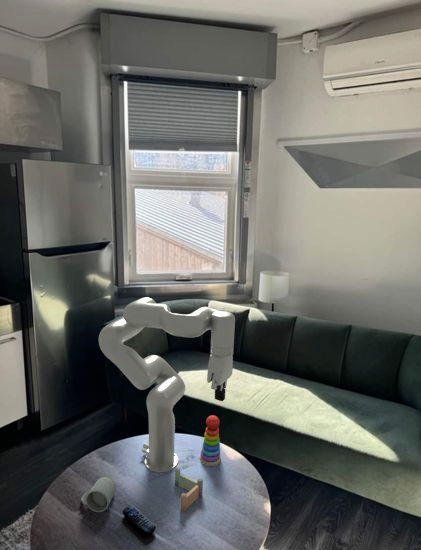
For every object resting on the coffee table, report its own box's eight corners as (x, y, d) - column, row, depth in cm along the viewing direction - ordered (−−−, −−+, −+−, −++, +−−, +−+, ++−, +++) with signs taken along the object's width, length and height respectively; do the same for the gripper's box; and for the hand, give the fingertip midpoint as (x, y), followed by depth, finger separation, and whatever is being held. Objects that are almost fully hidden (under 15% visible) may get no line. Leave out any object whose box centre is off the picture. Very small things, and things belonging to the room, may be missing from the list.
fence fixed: (173, 484, 140) (174, 470, 139) (176, 481, 141) (176, 467, 140) (195, 494, 135) (195, 480, 134) (198, 491, 137) (198, 477, 136)
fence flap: (199, 491, 137) (199, 477, 136) (203, 494, 136) (203, 480, 135) (179, 510, 129) (179, 495, 128) (183, 513, 128) (183, 498, 127)
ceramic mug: (117, 494, 135) (117, 475, 133) (108, 514, 127) (107, 493, 126) (87, 491, 136) (86, 471, 135) (76, 510, 129) (75, 489, 127)
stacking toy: (218, 469, 149) (220, 424, 145) (197, 465, 151) (199, 421, 146) (222, 455, 157) (224, 412, 152) (202, 452, 158) (204, 409, 154)
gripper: (222, 339, 140) (220, 387, 144) (200, 353, 128) (198, 405, 132) (242, 344, 137) (239, 393, 141) (221, 359, 124) (218, 412, 128)
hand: (219, 399), depth 136 cm, fingers closed
